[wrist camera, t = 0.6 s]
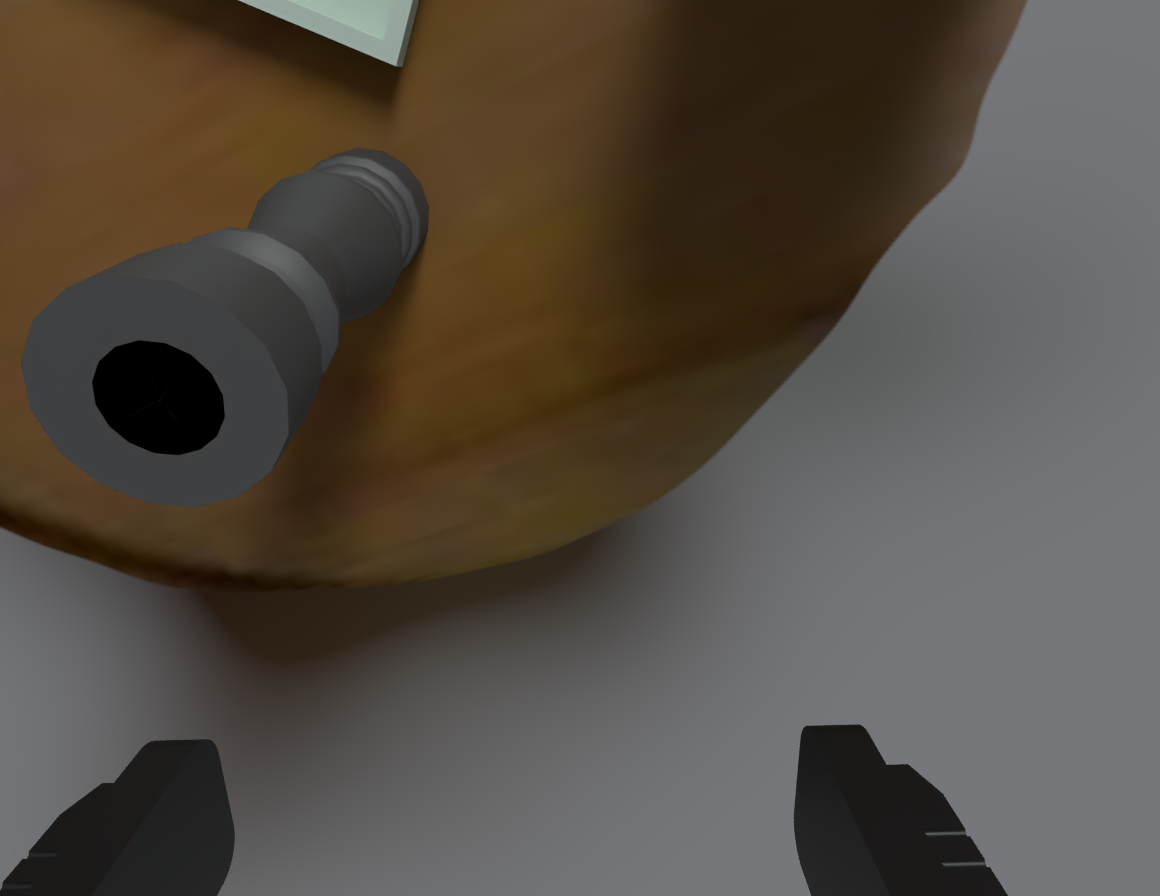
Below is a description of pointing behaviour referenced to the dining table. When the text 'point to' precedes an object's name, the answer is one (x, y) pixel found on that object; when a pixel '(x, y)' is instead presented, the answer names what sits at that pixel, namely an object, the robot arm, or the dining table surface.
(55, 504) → the dining table surface
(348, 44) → the tray
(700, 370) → the dining table surface
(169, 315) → the candle holder
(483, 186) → the dining table surface
